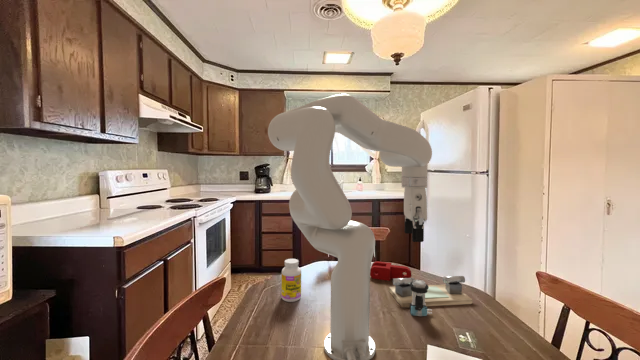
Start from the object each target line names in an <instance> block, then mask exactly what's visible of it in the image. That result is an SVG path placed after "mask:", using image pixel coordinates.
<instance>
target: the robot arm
mask: <svg viewBox="0 0 640 360" xmlns="http://www.w3.org/2000/svg"><path fill="white" fill-rule="evenodd" d="M336 133H338V134H340V135H342V136H344V137H345V138H347V139H348V140H349V141H352V142H353V143H356V145H358V146H359V147H362V148H363V149H365V150H369V151H375V152H379V158H380V161H382V163H383V164H384V165H385V166H388V167H393V168H395V167H396V168H399V167H400V168H401V188H404V191H403V215H404V233H405V234H409V235H410V234H411V241H412V242H413V243H424V240H425V238H424V237H425V235H424V234H425V222H426V221H427V220H428V205H427V204H428V203H427V201H428V200H427V191H426V190H427V188H428V164H429V163H430V162H431V160H432V157H433V150H432V146H431V143H430V142H429V141H428V140H427V138H425V137H424V135H422V134H421V133H420V132H419V131H417V130H416V129H413V128H411V127H408V126H405V125H402V124H398V123H395V122H393V121H389V120H385V119H383V118H381V117H379V115H377V114H376V113H374V111H372V110H371V109H369V107H367V106H366V105H365V104H363V103H362V102H361V101H360V100H358V99H357V98H355V97H354V96H352V95H351V94H347V93H341V94H340V93H339V94H334V95H330V96H328V97H322V98H319V99H315V100H312V101H310V102H309V103H308V102H307V103H305V104H304V105H300V106H298V107H294V108H293V109H290V110H287V111H284V112H281V113H279V114H276V115H275V116H274V117H273V118H272V119H271V120H270V123H269V124H268V128H267V135H268V139H269V141H270V143H271V144H272V145H273V146H274V147H275V148H277V149H279V150H280V151H284V152H293V154H292V158H291V159H292V160H291V164H290V165H291V166H290V178H291V181H292V184H293V186H294V188H295V190H294V191H293V192H292V194H291V196H290V197H289V201H288V207H289V213H290V216H291V219H292V221H293V222H294V223H295V224H296V226H297V228H298V229H299V230H300V231H301V233H302V234H303V236H304V238H306V240H307V241H308V242H309V244H310V245H311V246H312V247H313V248H314V249H315V250H316V251H319V252H321V253H324V254H327V255H330V256H332V257H335V258H337V263H336V265H335V266H334V268H333V269H332V272H331V276H330V326H329V327H330V332H329V334H327V336H326V337H325V338H324V342H323V348H324V349H323V350H324V352H325V354H326V355H327V356H328V357H329V358H330V359H331V360H372V359H373V357H374V356H375V354H376V343H375V341H374V340H373V337H371V336H370V312H371V311H370V308H371V303H370V302H371V297H370V296H371V292H370V291H371V276H370V271H371V267H372V261H373V256H374V252H375V246H376V238H375V233H374V232H373V230H372V229H371V228H370V227H369V226H368V225H366V224H365V223H364V222H363V223H362V222H359V221H355V220H351V219H352V217H353V213H352V207H351V204H350V201H349V200H348V197H347V196H346V194H345V193H344V191H343V189H342V188H341V185H340V183H339V182H338V180H337V179H336V176H335V175H334V173H333V171H332V168H331V163H330V155H331V150H332V146H333V141H334V139H335V134H336Z"/></svg>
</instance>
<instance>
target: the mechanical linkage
mask: <svg viewBox="0 0 640 360" xmlns="http://www.w3.org/2000/svg"><path fill="white" fill-rule="evenodd" d="M411 270H412V269H410V268H409V267H408V266H405V265H395V264H392V262H387V261H386V262H385V261H380V260H379V261H377V260H376V261H374V262H373V263H371V271H370V278H371V279H374V280H381V281H391V280H393V279H396V278H412V271H411ZM404 273H405V274H404Z"/></svg>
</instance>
